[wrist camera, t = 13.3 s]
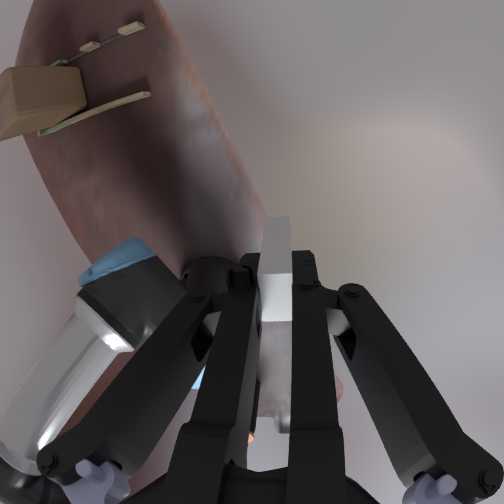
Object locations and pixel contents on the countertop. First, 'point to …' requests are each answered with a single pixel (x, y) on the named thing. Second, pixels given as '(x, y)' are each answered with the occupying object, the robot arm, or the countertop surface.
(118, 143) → the countertop surface
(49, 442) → the robot arm
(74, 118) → the trap lane
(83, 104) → the wooden block
